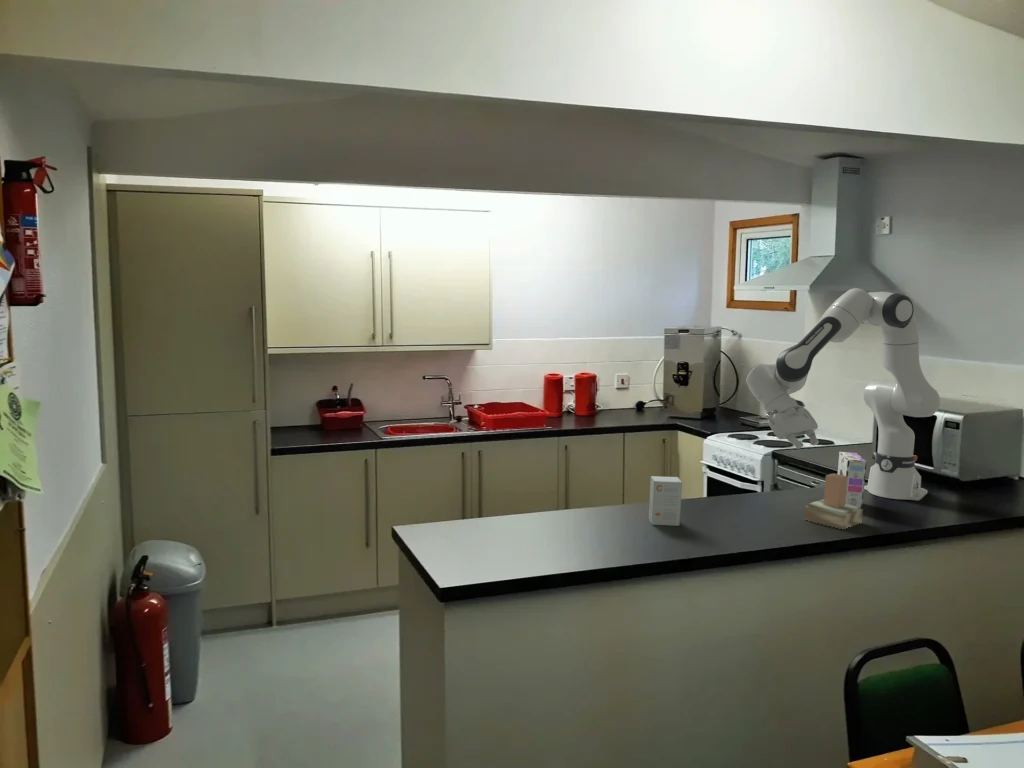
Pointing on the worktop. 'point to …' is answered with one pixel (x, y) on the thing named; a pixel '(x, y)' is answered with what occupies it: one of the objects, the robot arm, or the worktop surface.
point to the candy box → (853, 476)
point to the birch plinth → (833, 514)
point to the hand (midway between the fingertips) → (808, 445)
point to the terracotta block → (835, 490)
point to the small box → (665, 500)
